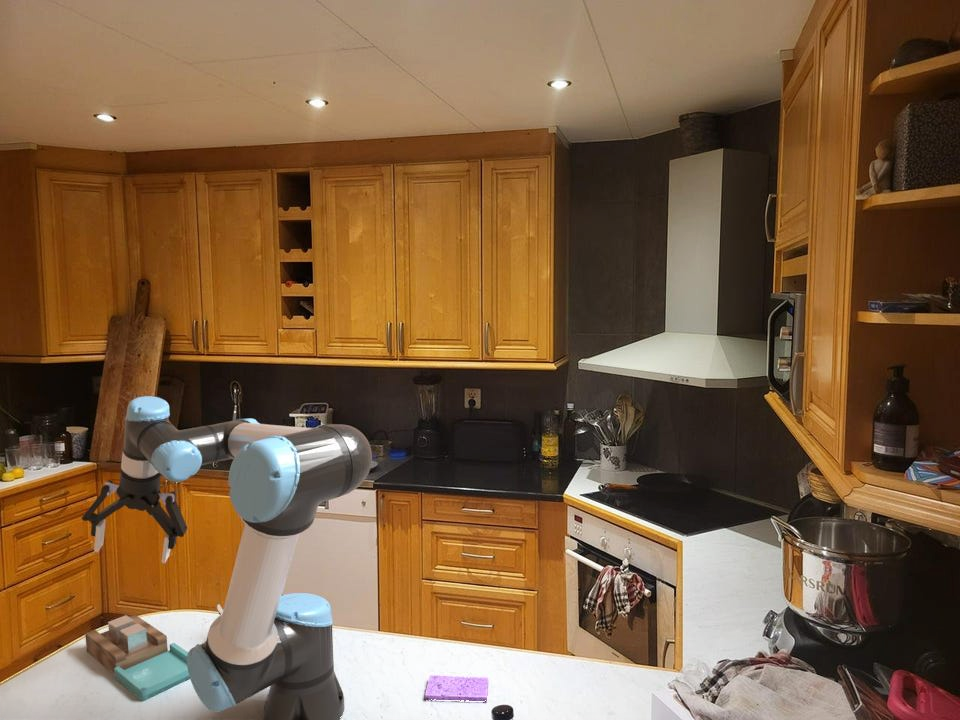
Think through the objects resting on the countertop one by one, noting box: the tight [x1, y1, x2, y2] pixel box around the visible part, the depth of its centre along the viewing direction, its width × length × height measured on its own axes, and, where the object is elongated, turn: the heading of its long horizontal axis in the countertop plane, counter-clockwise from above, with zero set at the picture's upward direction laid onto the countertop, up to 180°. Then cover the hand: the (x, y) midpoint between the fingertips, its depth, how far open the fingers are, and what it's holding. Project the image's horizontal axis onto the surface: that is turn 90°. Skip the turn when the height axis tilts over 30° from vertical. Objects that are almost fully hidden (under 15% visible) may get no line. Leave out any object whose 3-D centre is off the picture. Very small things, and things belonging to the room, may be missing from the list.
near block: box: [120, 623, 147, 653], centre depth 150 cm, size 4×4×4 cm
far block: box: [107, 614, 134, 644], centre depth 154 cm, size 4×4×4 cm
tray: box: [113, 642, 191, 702], centre depth 144 cm, size 13×13×2 cm
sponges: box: [424, 674, 489, 702], centre depth 137 cm, size 7×13×2 cm, turn 86°
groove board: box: [84, 614, 169, 675], centre depth 153 cm, size 16×11×4 cm
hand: (132, 553), depth 144 cm, fingers open, 13 cm apart
